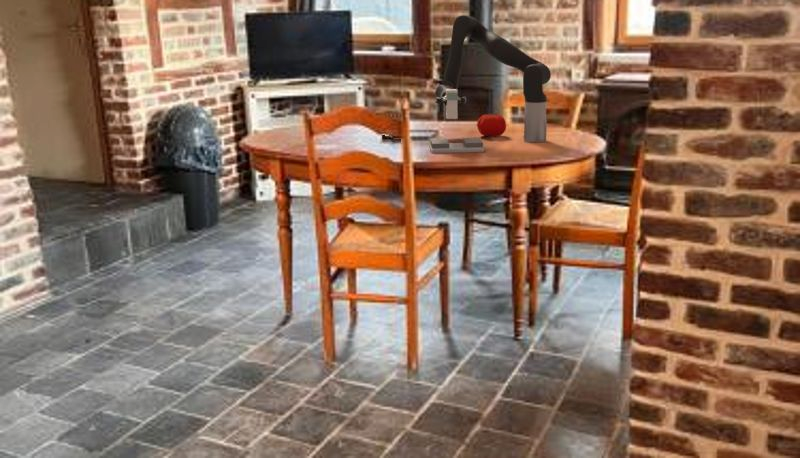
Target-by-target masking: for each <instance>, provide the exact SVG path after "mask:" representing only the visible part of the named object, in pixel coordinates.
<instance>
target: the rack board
mask: <svg viewBox="0 0 800 458" xmlns="http://www.w3.org/2000/svg"><path fill="white" fill-rule="evenodd" d="M429 140H430V141H429V144H428V146H429V147H428V148H429V150H430V153H431V154H439V153H440V154H443V153H444V154H445V153H448V154H449V153H483V152H486V151H485V150H486V149H485V148H484V142H483V140H482V139H481V138H480V137H462V142H455V143H452V142H451V143H450V142H449V140H448V138H443V137H442V138H441V137H440V138H429Z"/></svg>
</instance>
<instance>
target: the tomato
mask: <svg viewBox="0 0 800 458" xmlns="http://www.w3.org/2000/svg"><path fill="white" fill-rule="evenodd" d="M476 127H477V130H478V132H479V133H480V134H481V135H483V136H484V137H500V136H502V135H503V134H504V133H505V132H506V130H507V122H506V119H505V118H504V117H503V115H502V114H500V113H496V114H495V113H492V112H491V113H487V114H486V113H485V114H482V115H481V116H480V117H479V118H478V120H477V123H476Z"/></svg>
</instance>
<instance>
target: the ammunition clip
mask: <svg viewBox="0 0 800 458" xmlns="http://www.w3.org/2000/svg"><path fill="white" fill-rule="evenodd" d="M382 114H383V115H384V116H386V115H387V116H388V117H389V118H390V117H392V118H394V117H395V118H396V119H397V118H398V117H400V118H401V114H400V112H398V113H397V114H396V112H394V114H392V112H390V115H389V113H388V112H387V113H386V115H385V114H384V112H383V113H382ZM381 140H382V141H383V140H384V141H386V140H394V139H393V138H391V137H390V135H389V136H385V135H382V134H381Z"/></svg>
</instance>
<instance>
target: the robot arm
mask: <svg viewBox="0 0 800 458" xmlns="http://www.w3.org/2000/svg"><path fill="white" fill-rule="evenodd" d="M451 30H452V33H451V40H450V47H449V54H448V59H447V63H446V67H445V71H444V74H443V79H444V80H445V81H447V82H449V83H451V84H452V86H449V85H445V84H439V85H438V86H437V87H436V89H435V92H434V93H435V94H434V95H435V97H434V102H435V104H437V105H443V106H444V107H446V105H447V99H446V89H457V93H458V94H459V81H460V80H459V79H460V76H461V72H462V68H463V61H464V60H463V59H464V58H463V49H464V43H465V41H466V38H468V39H471V40H472V41H474V42H476V43H478V44H479V45H480V46H482V48H483V49H484V50H485V52H487V54H488V55H489V56H491V57H492V58H493V59H495V60H497V62H500V63H501V64H503V65H505V66H508V67H511V68H514V69H517V70H519V71H520V72H522V73H523V75H522V91H523V93H522V94H523V96H524V123H523V124H524V126H523V129H524V130H523V142H526V143H542V142H547V130H548V127H547V126H548V125H547V124H548V123H547V122H548V119H547V94H545V92H544V91H543V90H544V89H543V85H545V84H547V83H548V82H549V81H550V79H551V77H552V73H551V70H550V68H549V67H548V65H546V64H545V63H543V62H541V61H538V60H537V59H535V58H533V57H531V56H529V55H528V54H526V53H525V52H524V51H522V50H521V49H520V48H519V47H517V46H515V45H514V44H513V43H511V42H509V41H508V39H506V38H503V37H502V36H500V35H499V34H497V33H495V32H494V31H491V30H489V29H488V28H487V27H486V26H484V25H483V24H482V23H481V22H480V21H479V20H477V19H476V18H475V17H474V16H470V15H466V14H460V15H458V16H456V18H455V19H454V20H453V24H452V29H451ZM466 103H467V96H466V95H464V96H462V97H460V96H458V105H460V104H461V105H462V104H463V105H464V104H466Z"/></svg>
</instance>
